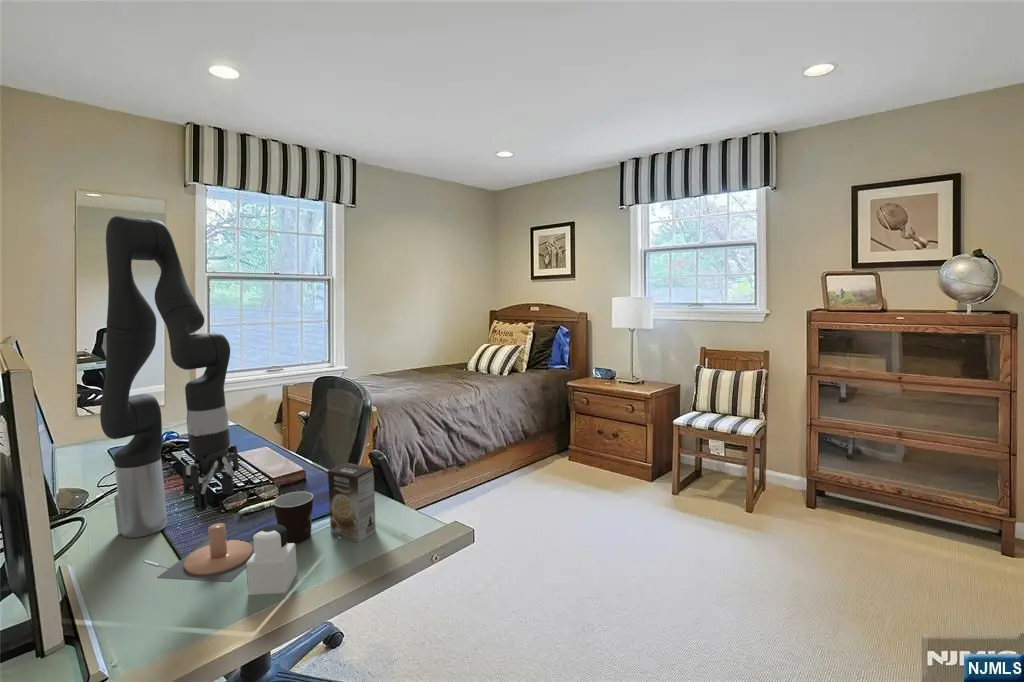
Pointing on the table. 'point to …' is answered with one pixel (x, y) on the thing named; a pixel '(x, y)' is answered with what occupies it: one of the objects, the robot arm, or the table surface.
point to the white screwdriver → (153, 563)
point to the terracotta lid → (218, 554)
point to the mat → (180, 573)
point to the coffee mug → (295, 515)
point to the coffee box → (352, 501)
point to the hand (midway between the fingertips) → (215, 501)
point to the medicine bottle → (271, 561)
